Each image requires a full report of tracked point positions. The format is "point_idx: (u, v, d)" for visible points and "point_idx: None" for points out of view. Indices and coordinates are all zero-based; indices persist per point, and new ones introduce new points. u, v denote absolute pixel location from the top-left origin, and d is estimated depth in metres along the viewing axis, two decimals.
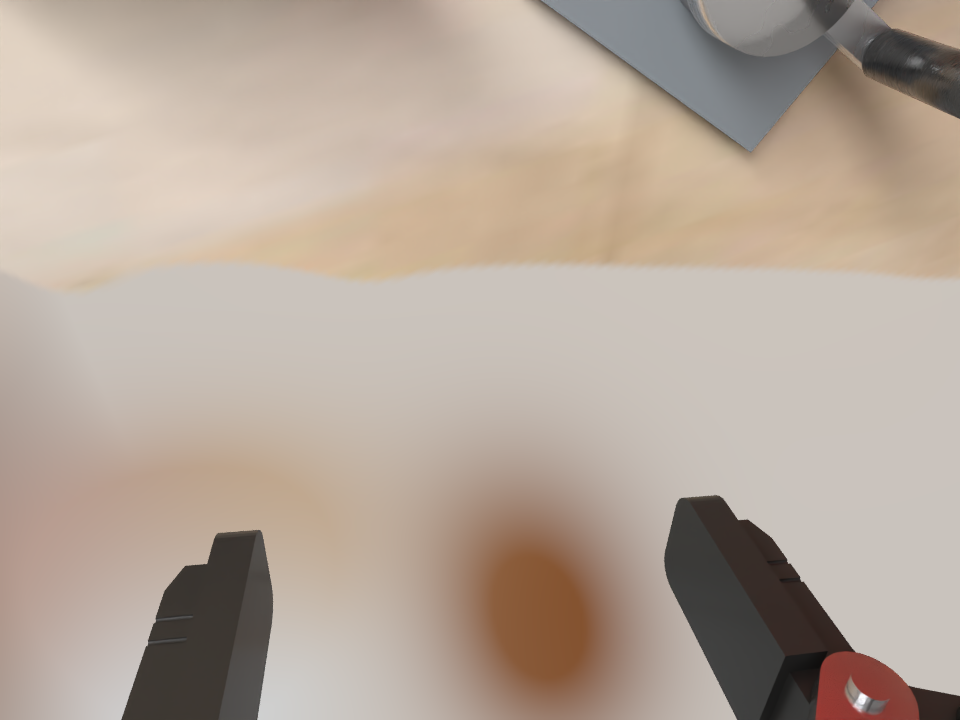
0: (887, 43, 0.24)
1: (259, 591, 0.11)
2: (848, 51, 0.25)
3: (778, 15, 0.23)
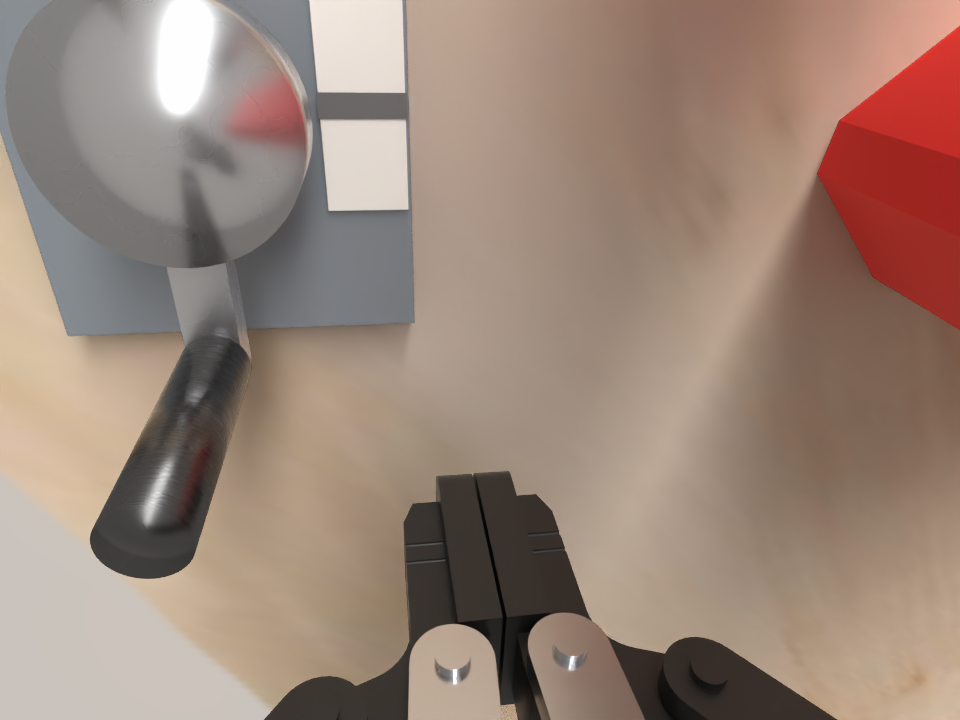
0: (209, 350, 0.17)
1: None
2: (180, 319, 0.17)
3: (104, 179, 0.14)
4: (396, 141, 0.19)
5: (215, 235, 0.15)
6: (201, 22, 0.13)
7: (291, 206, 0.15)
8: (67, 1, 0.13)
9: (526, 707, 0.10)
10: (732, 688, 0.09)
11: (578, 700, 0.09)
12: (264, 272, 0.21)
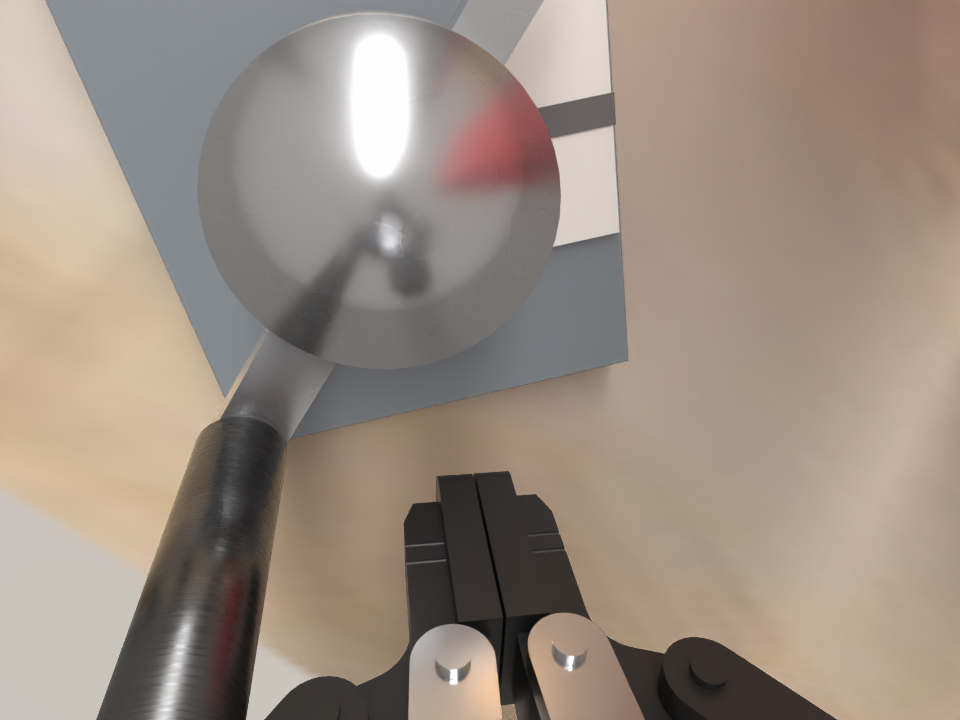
0: (261, 446, 0.13)
1: None
2: (237, 388, 0.13)
3: (286, 216, 0.11)
4: (602, 153, 0.15)
5: (362, 335, 0.12)
6: (521, 135, 0.11)
7: (463, 348, 0.13)
8: (401, 26, 0.10)
9: (526, 707, 0.10)
10: (732, 688, 0.09)
11: (578, 700, 0.09)
12: None
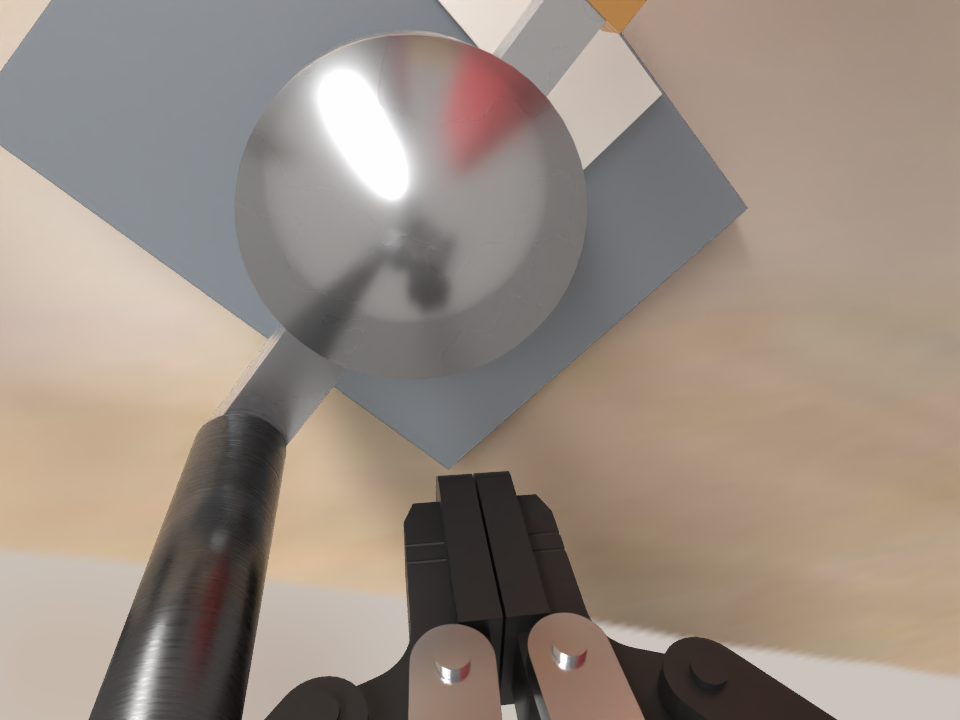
0: (265, 446, 0.13)
1: None
2: (245, 385, 0.13)
3: (319, 220, 0.11)
4: (599, 32, 0.14)
5: (378, 344, 0.12)
6: (556, 166, 0.11)
7: (475, 366, 0.13)
8: (455, 50, 0.10)
9: (526, 707, 0.10)
10: (732, 688, 0.09)
11: (578, 700, 0.09)
12: None
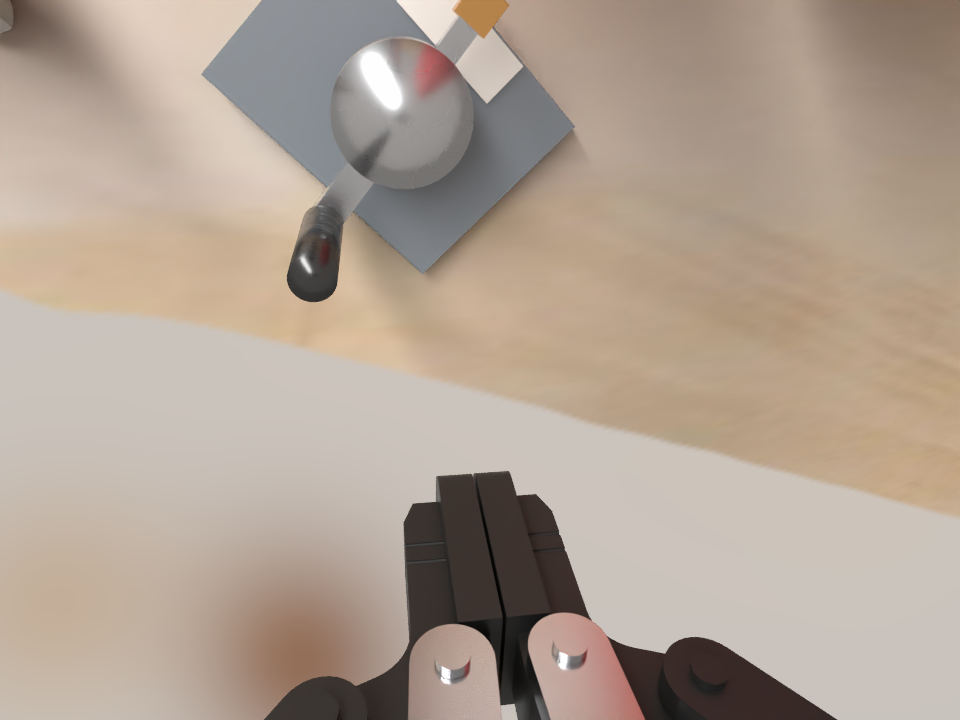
0: (336, 216, 0.29)
1: None
2: (326, 191, 0.29)
3: (363, 112, 0.27)
4: (490, 36, 0.30)
5: (386, 170, 0.28)
6: (459, 92, 0.27)
7: (428, 184, 0.29)
8: (417, 44, 0.26)
9: (526, 707, 0.10)
10: (732, 688, 0.09)
11: (578, 700, 0.09)
12: (481, 164, 0.33)
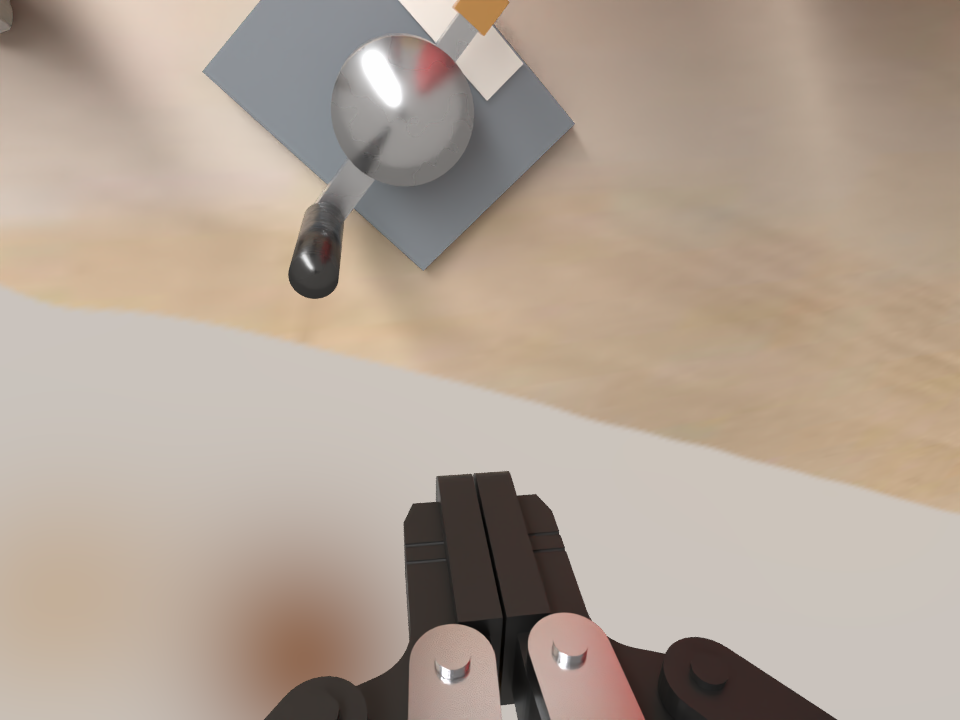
0: (336, 213, 0.29)
1: None
2: (327, 188, 0.29)
3: (363, 110, 0.27)
4: (490, 34, 0.30)
5: (386, 167, 0.28)
6: (459, 89, 0.27)
7: (428, 181, 0.29)
8: (417, 42, 0.26)
9: (526, 707, 0.10)
10: (732, 688, 0.09)
11: (578, 700, 0.09)
12: (481, 161, 0.33)
